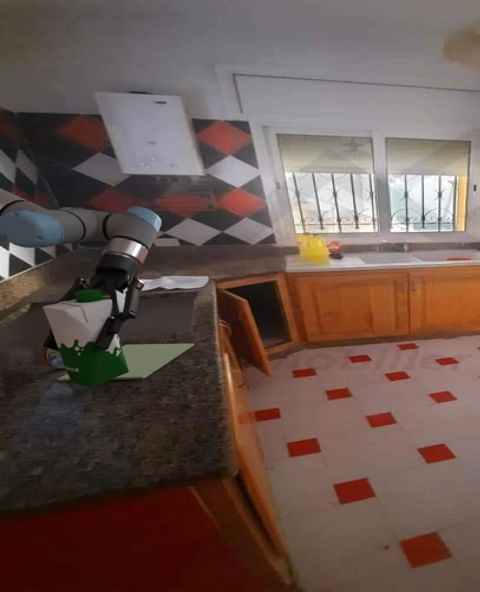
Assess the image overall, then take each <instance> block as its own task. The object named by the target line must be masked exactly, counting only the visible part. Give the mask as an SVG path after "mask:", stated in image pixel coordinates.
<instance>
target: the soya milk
mask: <svg viewBox="0 0 480 592" xmlns="http://www.w3.org/2000/svg"><path fill="white" fill-rule="evenodd" d="M75 297H76V299H75V300H70V301H63V302H59V303H58V302H57V303H58V304H57V303H53V304H48V305H43V306H42V309H43V311H44V314H45V316H46V319H47V322H48V323H49V326H50V329H52V332H53V335H54V337H55V340H56V343H57V346H58V349H59V352H60V355H61V358H62V360H63V363H64V366H65V371H66V374H68V375H69V378H70V380H71V381H70V383H72V384H75V385H76V384H77V385H81V386H84V387H86V388H87V387H88V388H94V387H96V386H99V385H101V384H104V383H106V382H109V381H111V379H114V378H116V377H118V376H121V375H123V374H126V373H128V372H129V370H128V366H127V363H126V360H125V356H124V353H123V350H122V346H123V345H122V342H121V340H120V336H119V333H118V334H115V336H114V338H113V340H112V342H111V344H110V346H109V348H108V350H103V349H101V348H98V347H96V346H93V345H94V343H95V341H96V339H97V337H98V335H99V333H100V331H101V329H102V327H103V325H104V323H105V321H106V320H107V318H108V317H111V318H113V319H114V317H112V316H110V314H111V315H112V300H111V298H106V297H105V296H102V293H101V290H100V289H87V290H81V291H77V292H75Z"/></svg>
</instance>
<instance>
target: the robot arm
mask: <svg viewBox="0 0 480 592" xmlns="http://www.w3.org/2000/svg"><path fill="white" fill-rule="evenodd" d="M161 227H162V219H161V218H160V217H159V215H158V214H157V213H155V212H154V211H152V210H150V209H148V208H145V207H142V206H132V207H131V206H130V207H128V208H127V210H125V212H124V213H115V212H106V211H100V210H92V209H88V208H87V209H86V208H83V207H68V206H66V207H65V206H63V207H60V208H59V209H48V208H45V207H42V206H41V205H37V204H35V203H33V202H31V201H29V200H27V199H24V198H22V197H20V196H18V195H16V194H14V193H12V192H9V191H7V190H5V189H3V188H1V187H0V235H1V236H2V237H4V238H5V240H7V242H8V243H10V244H12V245H15V246H17V247H21V248H25V249H32V248H39V249H40V248H41V249H42V248H51V247H56V246H62V245H67V244H68V245H69V244H77V243H85V242H91V241H96V242H107V245H106V246H105V247H104V249H103V251H102V253H101V255H100V257H99V258H98V260H97V262H96V263H95V265H94V272H95V273H94V274H93V276H91V277H90V278H86V279H85V278H82V277H76V278H75V279H74V282H73V284H72V286H71V287H70V288H69V289H68V290H67V291H66V293H64V295H63V296H62V297H61V298H60V299H59V300H58V301H57V303H56V304H58V303H59V302H63V301H70V300H75V299H76V297H75V292H77V291H81V290H87V289H100V290H101V293H102V296H103V297H107V296H110V300H112V315H111V314H110V316H112V317H113V318H114V319H113V318H111V317H108V318H107V320H106V321H105V323H104V325H103V327H102V329H101V331H100V333H99V335H98V337H97V339H96V341H95V343H94V345H93V346H96V347H98V348H101V349H103V350H108V348H109V346H110V344H111V342H112V340H113V338H114V336H115V334H118V335H119V333H120V331H121V329H122V326H123V325H124V323H125V322H127V320H135V319H136V318H137V317H138V312H139V305H140V300H141V293H142V290H143V288H144V287H145V285H146V284H145V282H143V281H142V280H140V279H139V277H138V275H139V273H140V271H141V267H142V266H143V264H144V262H145V260H146V259H147V256H148V254H149V252H150V249H151V247H152V245H153V243H154V242H155V240H156V238H157V236H158V235H159V231H160V230H161ZM43 347H46V348H49V349H52V350H59V349H58V346H57V343H56V340H55V337H54V335H53V332H52V329H51V328H50V329H49V334H48V336H47V338H46V339H45V341H44V342H43V344H42V348H43Z"/></svg>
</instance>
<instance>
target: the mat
mask: <svg viewBox="0 0 480 592" xmlns="http://www.w3.org/2000/svg"><path fill="white" fill-rule="evenodd" d="M121 346H122V350H123V353H124V356H125V360H126V363H127V366H128V370H129V372H128V373H126V374H123V375H121V376H118V377H116V378H114V379H111V380H145V378H147V377H149V376H150V375H152V374H153V373H154V372H156V371H158V370H159V369H161V368H162V367H164V366H165V365H168V364H169V362H172V361H173V360H174V359H176V358H177V357H179V356H180V355H182V354H183V353H185V352H186V351H188V350H189V349H191V348H192V347H194V346H195V343H148V344H147V343H144V344H143V343H142V344H135V343H134V344H124V345H121ZM111 380H110V381H111ZM57 381H58V382H63V381H64V382H67V381H68V382H69V381H70V382H71V380H70V378H69V375H68V373H66V374H64V375H61V376H60V377H57Z"/></svg>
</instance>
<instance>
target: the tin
mask: <svg viewBox="0 0 480 592" xmlns="http://www.w3.org/2000/svg"><path fill="white" fill-rule="evenodd" d="M40 359H41V361H42V363H44V364H45V365H46V366H47V367H50V368H55V369H64V370H66V368H65V366H64V363H63V360H62V358H61V355H60V352H59V350H52V349H49V348H46V347H43V346H42V348H41V350H40Z"/></svg>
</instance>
